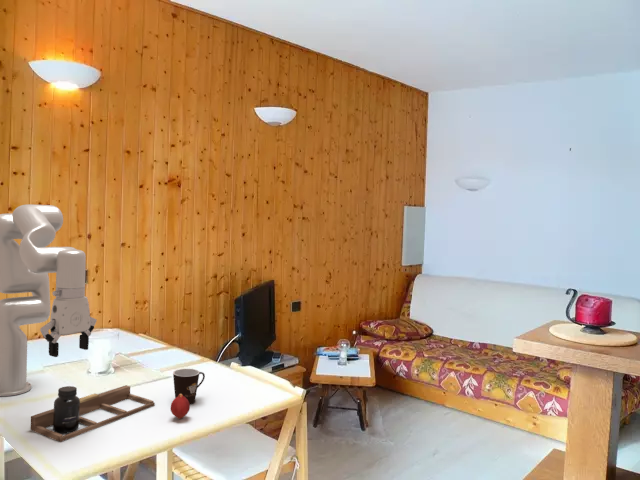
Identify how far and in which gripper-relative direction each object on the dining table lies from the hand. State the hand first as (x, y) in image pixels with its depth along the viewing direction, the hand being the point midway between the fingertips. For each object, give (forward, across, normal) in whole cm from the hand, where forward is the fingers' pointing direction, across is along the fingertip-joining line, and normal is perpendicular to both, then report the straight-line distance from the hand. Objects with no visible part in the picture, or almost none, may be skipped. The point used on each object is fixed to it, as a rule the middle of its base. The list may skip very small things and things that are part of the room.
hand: (69, 352), depth 156 cm
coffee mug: (+23, +38, -12) cm, 46 cm away
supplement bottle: (+23, 0, 0) cm, 23 cm away
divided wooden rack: (+22, +11, 0) cm, 25 cm away
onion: (+23, +25, -20) cm, 39 cm away
